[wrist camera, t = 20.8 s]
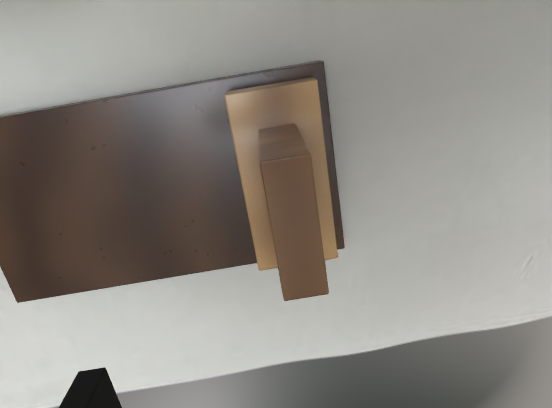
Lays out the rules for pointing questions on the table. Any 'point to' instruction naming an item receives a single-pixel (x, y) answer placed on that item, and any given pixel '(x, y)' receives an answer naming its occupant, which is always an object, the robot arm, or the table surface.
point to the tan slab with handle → (285, 181)
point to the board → (131, 187)
